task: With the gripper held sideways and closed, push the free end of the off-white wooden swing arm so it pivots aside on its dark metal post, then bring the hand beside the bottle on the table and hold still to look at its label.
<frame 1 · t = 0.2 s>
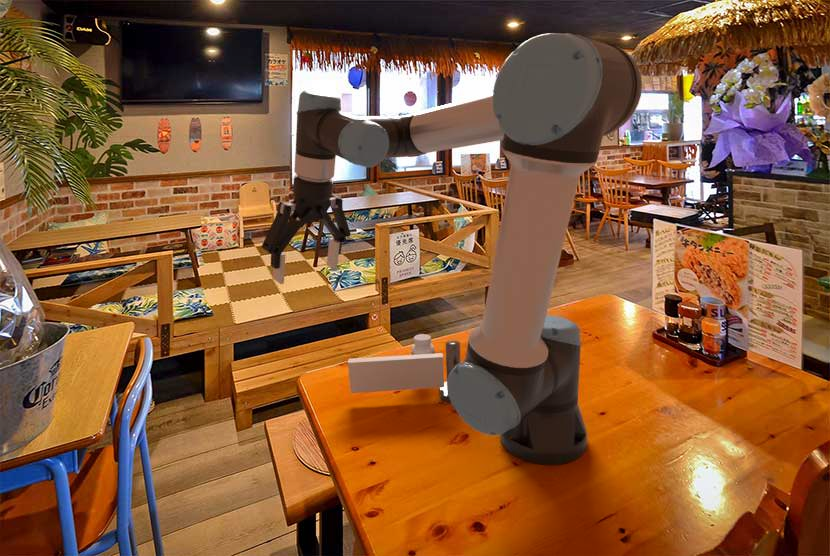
hand: (306, 274, 105), 27 cm above the table, tool tilted 15°, fingers open, 13 cm apart
supplement bottle: (424, 376, 116), on the table
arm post: (454, 395, 107), on the table
swing arm: (396, 373, 105), point 6 cm above the table, hinge at 0.0°
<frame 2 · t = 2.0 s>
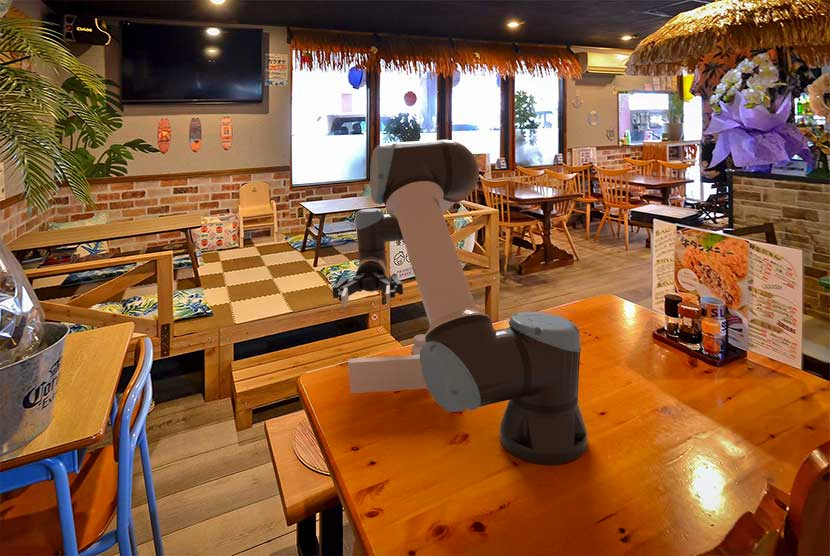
hand: (365, 300, 108), 20 cm above the table, tool horizontal, fingers open, 9 cm apart
nothing on the table moved.
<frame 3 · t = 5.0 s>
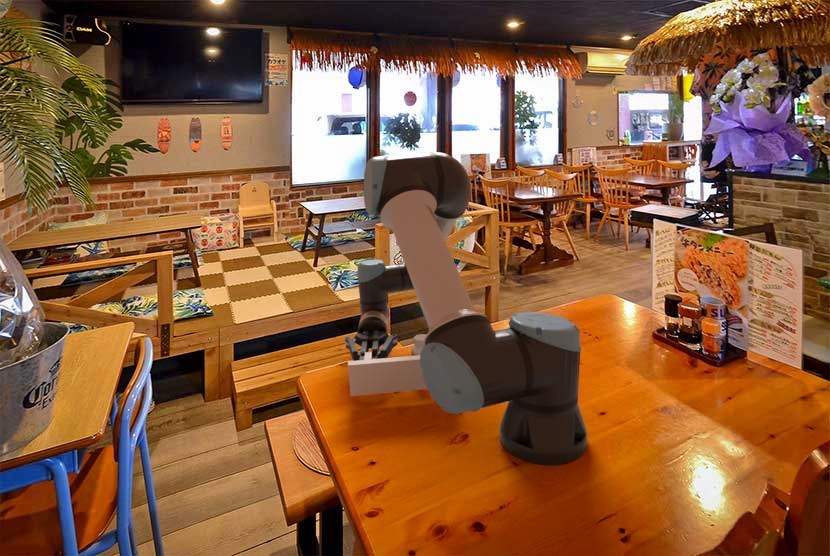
hand: (367, 370, 105), 7 cm above the table, tool horizontal, fingers closed
swing arm: (396, 374, 104), point 6 cm above the table, hinge at 3.4°, touching gripper
everything else where it was.
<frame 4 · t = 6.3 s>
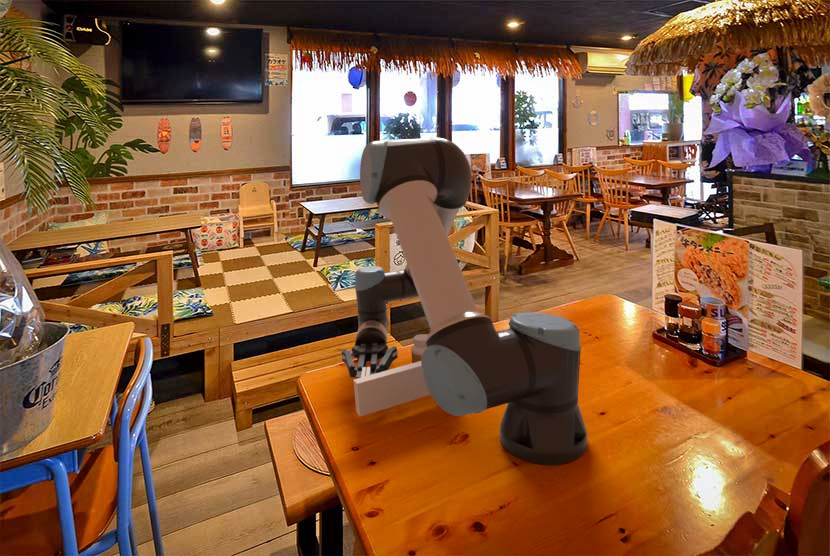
hand: (364, 387, 98), 7 cm above the table, tool horizontal, fingers closed
swing arm: (402, 384, 100), point 6 cm above the table, hinge at 26.2°, touching gripper
everything else where it was.
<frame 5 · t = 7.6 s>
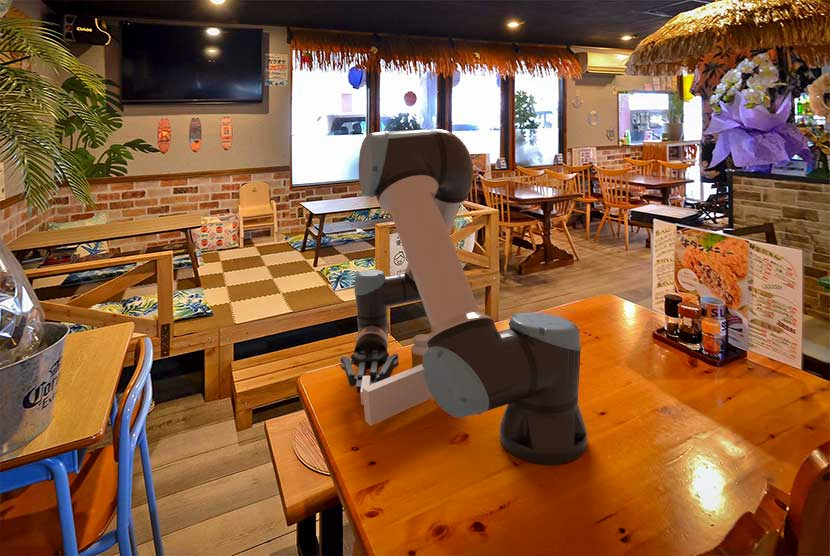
hand: (364, 397, 93), 7 cm above the table, tool horizontal, fingers closed
swing arm: (408, 388, 98), point 6 cm above the table, hinge at 36.9°, touching gripper
everything else where it was.
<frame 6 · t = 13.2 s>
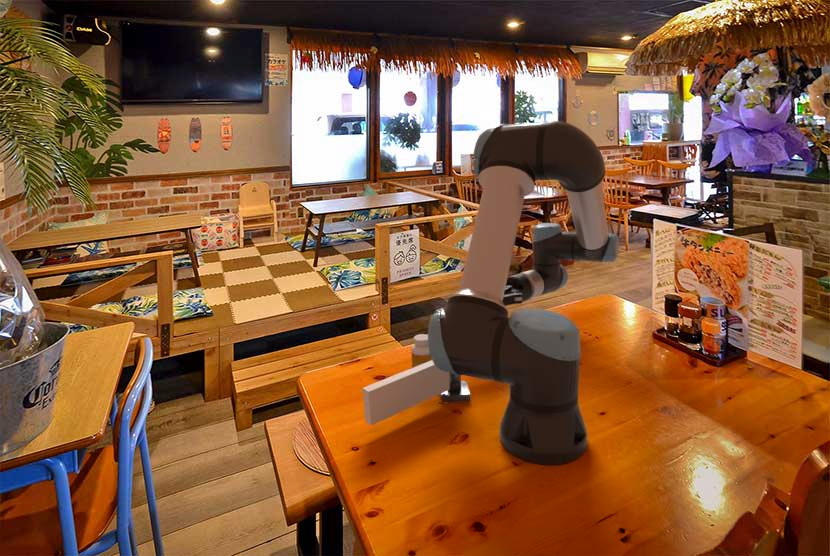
hand: (457, 308, 121), 13 cm above the table, tool horizontal, fingers closed
swing arm: (408, 388, 98), point 6 cm above the table, hinge at 36.9°
everything else where it was.
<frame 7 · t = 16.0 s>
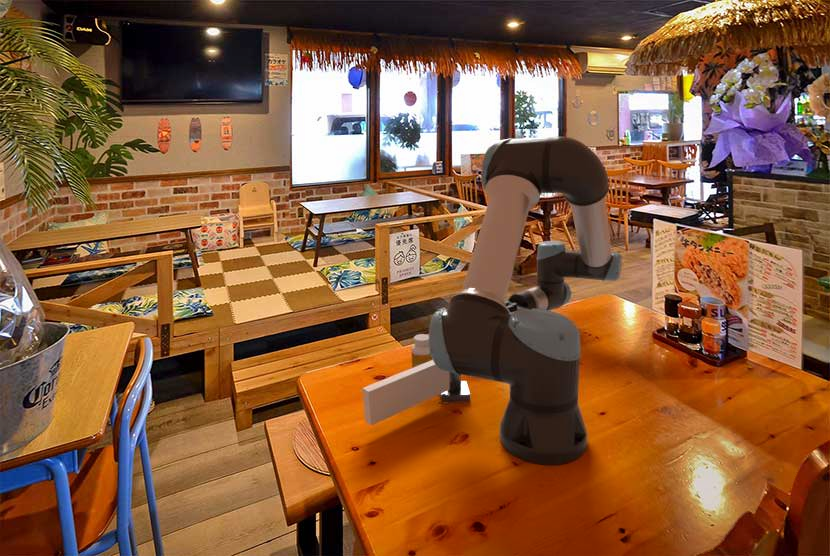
hand: (463, 325, 123), 8 cm above the table, tool horizontal, fingers closed
nothing on the table moved.
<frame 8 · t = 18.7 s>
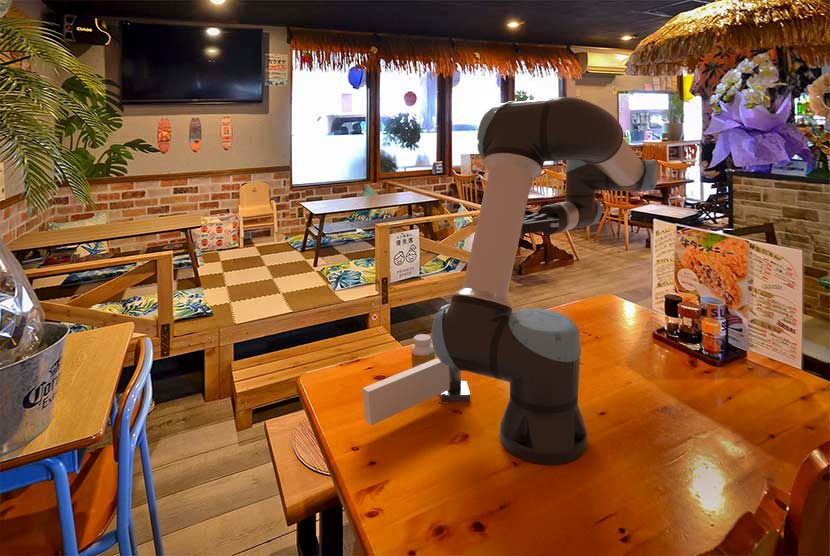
hand: (491, 231, 115), 32 cm above the table, tool horizontal, fingers closed
nothing on the table moved.
at the end: swing arm at +37° (first picture: +0°); supplement bottle moved 0.2 cm from its start; supplement bottle tilted 0° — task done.
